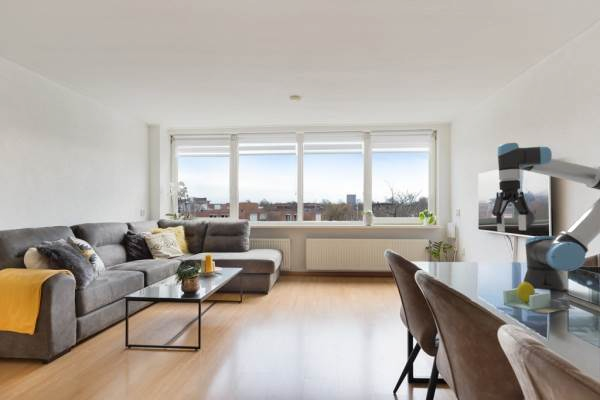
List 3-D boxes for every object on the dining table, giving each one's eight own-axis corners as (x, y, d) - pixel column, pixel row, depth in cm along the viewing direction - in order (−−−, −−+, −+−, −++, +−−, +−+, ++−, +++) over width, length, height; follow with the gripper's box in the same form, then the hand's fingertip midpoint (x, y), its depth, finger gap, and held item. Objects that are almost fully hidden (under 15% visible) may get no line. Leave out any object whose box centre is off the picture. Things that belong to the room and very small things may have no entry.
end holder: (521, 300, 135) (520, 287, 135) (550, 306, 125) (549, 292, 125) (503, 304, 131) (503, 290, 131) (532, 311, 121) (531, 296, 121)
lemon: (521, 305, 126) (520, 282, 126) (515, 301, 132) (514, 279, 132) (538, 305, 125) (537, 283, 125) (531, 301, 130) (530, 279, 131)
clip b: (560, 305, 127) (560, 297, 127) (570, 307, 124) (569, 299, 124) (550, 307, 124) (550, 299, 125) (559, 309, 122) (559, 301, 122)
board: (535, 301, 137) (535, 298, 137) (574, 310, 125) (574, 306, 125) (506, 307, 130) (505, 304, 130) (544, 317, 118) (544, 313, 118)
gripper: (520, 181, 157) (522, 229, 157) (480, 181, 147) (483, 232, 146) (537, 179, 151) (540, 229, 150) (497, 179, 140) (500, 233, 140)
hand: (512, 231), depth 148 cm, fingers open, 13 cm apart
